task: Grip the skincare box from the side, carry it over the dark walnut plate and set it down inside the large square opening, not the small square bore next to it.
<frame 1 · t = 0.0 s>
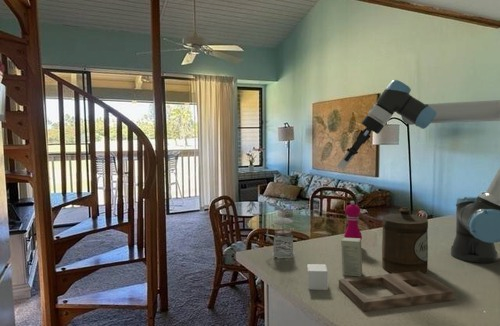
hand: (341, 166, 134), 36 cm above the counter, tool tilted 35°, fingers open, 13 cm apart
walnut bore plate: (393, 293, 106), on the counter
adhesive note: (317, 286, 113), on the counter
pepper mill: (353, 247, 150), on the counter
french press: (281, 255, 144), on the counter
wooden container: (404, 268, 125), on the counter
skincare box: (352, 274, 121), on the counter
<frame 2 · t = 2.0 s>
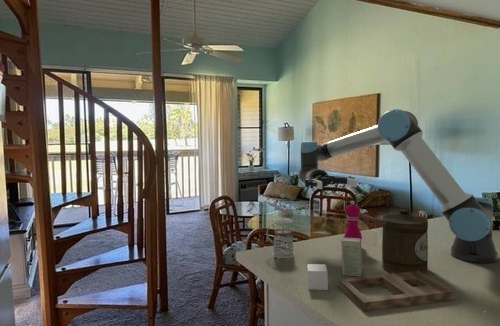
hand: (338, 184, 129), 30 cm above the counter, tool horizontal, fingers open, 13 cm apart
nothing on the counter moved.
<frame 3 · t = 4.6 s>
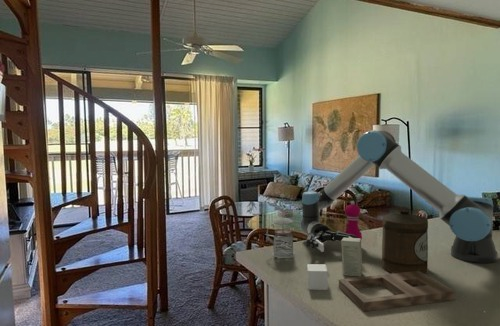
hand: (340, 246, 130), 7 cm above the counter, tool horizontal, fingers open, 13 cm apart
nothing on the counter moved.
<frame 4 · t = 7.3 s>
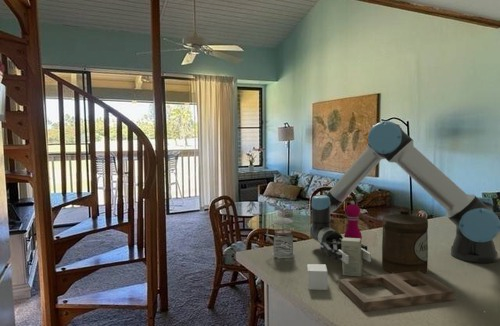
hand: (358, 258, 116), 7 cm above the counter, tool horizontal, fingers closed on skincare box, 7 cm apart
skincare box: (352, 274, 121), on the counter, touching gripper
everything else where it was.
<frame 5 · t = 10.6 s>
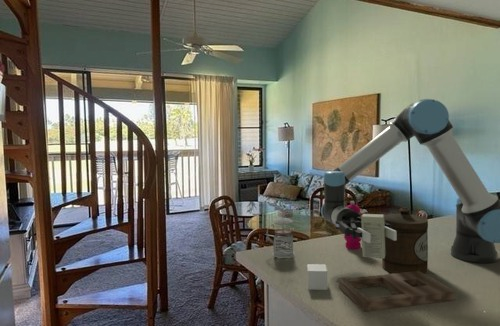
hand: (382, 236, 99), 19 cm above the counter, tool horizontal, fingers closed on skincare box, 7 cm apart
skincare box: (373, 256, 104), point 12 cm above the counter, touching gripper
everything else where it was.
when the fingers open (8 cm above the counter, at t = 13.7 s): skincare box stays where it is, resting in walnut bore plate.
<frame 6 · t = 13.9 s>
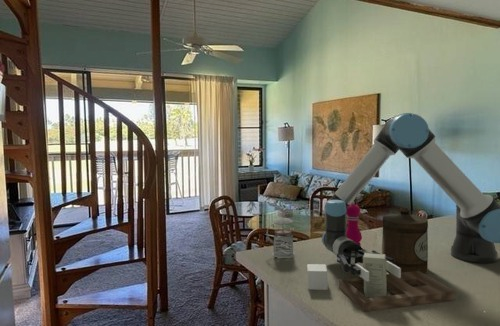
hand: (383, 274, 100), 8 cm above the counter, tool horizontal, fingers open, 9 cm apart
skincare box: (375, 296, 104), resting in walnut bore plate
everything else where it was.
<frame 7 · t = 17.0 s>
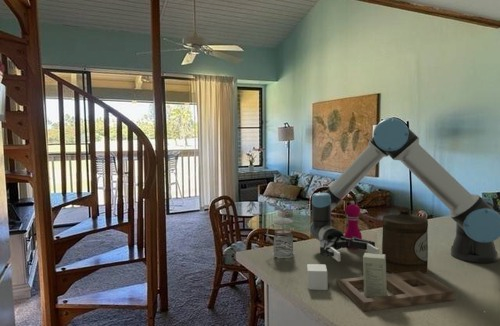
hand: (358, 255, 114), 9 cm above the counter, tool horizontal, fingers open, 13 cm apart
nothing on the counter moved.
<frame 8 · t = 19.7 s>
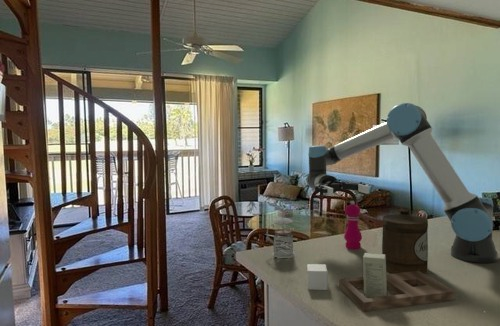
hand: (350, 191, 124), 28 cm above the counter, tool horizontal, fingers open, 13 cm apart
nothing on the counter moved.
at the end: skincare box inside the target area on the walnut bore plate (0.2 cm from its centre), point 0.0 cm above the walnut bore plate's base; skincare box tilted 0°; the gripper is holding nothing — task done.
